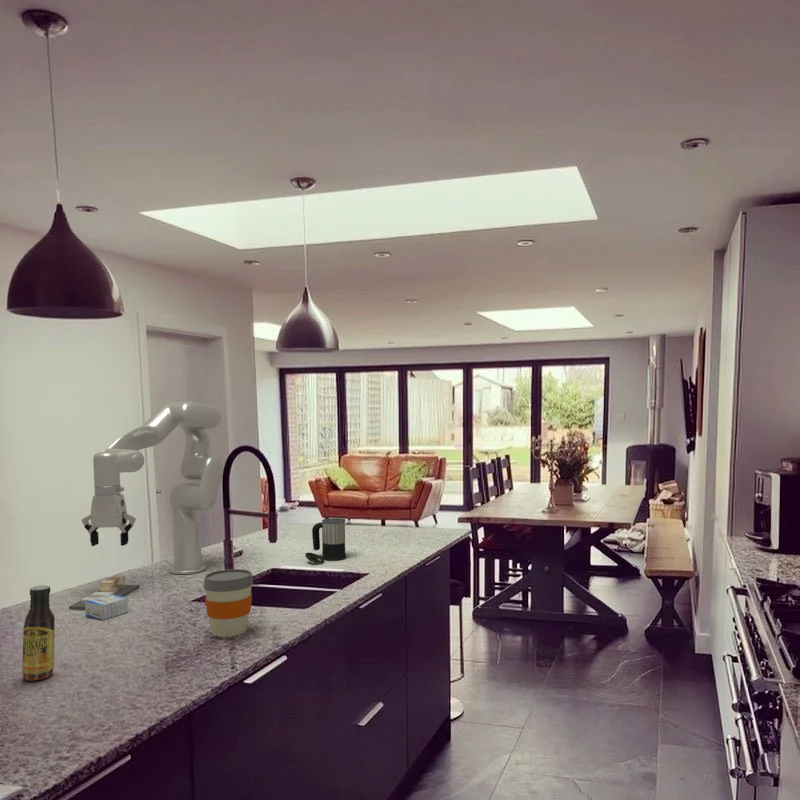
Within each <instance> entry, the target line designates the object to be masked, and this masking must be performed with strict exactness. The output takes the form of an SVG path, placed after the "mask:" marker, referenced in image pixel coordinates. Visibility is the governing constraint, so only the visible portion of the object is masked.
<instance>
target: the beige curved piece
mask: <svg viewBox="0 0 800 800" xmlns="http://www.w3.org/2000/svg"><path fill="white" fill-rule="evenodd" d="M125 585H126V576H125V574H115V575H113V576H111V577H109V578H107V579H105V580H103V581H101V582H100V583H99V591H100V592H98V591H95V592H93V593H90V595H88V596H86V597H83V598H82V599H81V600H82V604H85V602H86V601H89V600H92V599H96V598H99V597H103V596H106V595H109V594H113V595H114V593H116V592H117V591H119V590H121V589H123V588H124V587H125Z"/></svg>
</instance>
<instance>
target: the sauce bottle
mask: <svg viewBox="0 0 800 800" xmlns="http://www.w3.org/2000/svg"><path fill="white" fill-rule="evenodd" d="M50 593H51V586H50V585H46V584H44V585H41V584H40V585H35V586H32V587H31V588H29V596H30V605H29V610H28V612H27V614H26V616H25V618H24V624H23V629H22V660H21V661H22V665H21V666H22V679H23V680H25V681H28V682H35V681H42V680H45V679H47V678H49V677H51V676H52V675H53V673H54V668H55V639H56V637H55V635H56V634H55V631H56V630H55V629H56V628H55V613H53V611H52V610H51V608H50Z"/></svg>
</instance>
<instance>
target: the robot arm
mask: <svg viewBox="0 0 800 800" xmlns="http://www.w3.org/2000/svg"><path fill="white" fill-rule="evenodd" d="M221 422H222V414H221V411H220V410H219V409H218V408H217V406H215V405H210V404H204V403H200V402H194V401H188V400H187V401H185V400H184V401H169V402H166V403H164V404H162V406H161V407H159V408H158V409H157V410H156V412H155V413H154V414H153V415H152V416H150V418H149V419H148V420H147V421H145V422H144V423H143V424H142V425H140V426H139V427H136V428H134V429H132V430H131V431H129V432H127V433H125V434H123V435H121V436H120V437H118V438H117V439H116V440H114V441H113V442H112V444H110V445H109V446H108V447H107V448H106V449H105V450H104V451H101V452H96V453H95V454H94V455H93V459H92V460H93V462H92V463H93V484H94V486H93V487H94V495H93V496H92V499H91V506H90V514H89V515H87V516H85V517H84V518H82V519H81V522H82V525H83V526H84V529H86V531H87V532H88V534H90V535H89V536H90V537H89V540H90V541H89V542H90V543H91V544H90V545H91V547H95V546H97V545H99V532H98V529H99V528H102V529H103V528H118V530H119V531H121V533H120V546H121V547H124V546H126V545H128V544H129V532H130V530H131V529H132V528H133V527H134V524H135V523H136V520H137V519H136V517H135V516H133V515H131V514H128V511H127V505H126V501H125V500H126V499H125V496H124V494H123V493H122V492H124V491H125V487H124V486H122V485H121V479H120V477H121V476H120V475H121V473H135V472H138V471H140V470H141V469H142V468H143V466H144V464H145V456H144V454H143V453H142V452H141V450H145V449H147V448H151V447H155V446H156V445H159V444H161V443H162V442H164V440H165V439H166V438H167V437H168V436H169V435H170V434H171V433H172V432H173V431H174V429H176V428H177V427H178V426H181V428H182V429H183V432H184V434H185V439H186V442H185V447H184V452H183V456H182V461H181V464H180V475H181V477H183V478H184V479H185V480H189V481H199V483H196V482H195V483H194V482H192V483H191V482H182V483H178V484H176V485H174V486H173V487H172V488H171V490H170V492H169V504H170V507H171V508H170V509H171V512H172V529H173V530H172V531H173V534H172V535H173V538H172V539H173V565H172V566H171V567H170V568H169V572H170V573H171V574H172V575H191V574H195V573H196V574H197V573H200V572H203V571H205V570H206V569H207V566H206V564H204V563H202V559H203V558H204V554H202V531H201V529H202V528H201V527H202V525H201V524H202V523H201V518H200V515H199V512H198V511H203V512H204V511H210V510H211V509H213V508H214V507H215V505H216V504H217V500H218V498H219V497H218V496H219V493H220V488H221V484H222V479H223V473H224V464H223V461H222V460H221V458H220V457H219V456H217V455H214V454H209V452H210V447H211V445H210V444H211V442H210V441H211V440H210V437H209V435H208V433H207V430H209V429H212V430H213V429H215V428H217V427H218V426H219V425H220V423H221ZM89 521H90V522H89ZM127 523H128V524H127Z"/></svg>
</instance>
